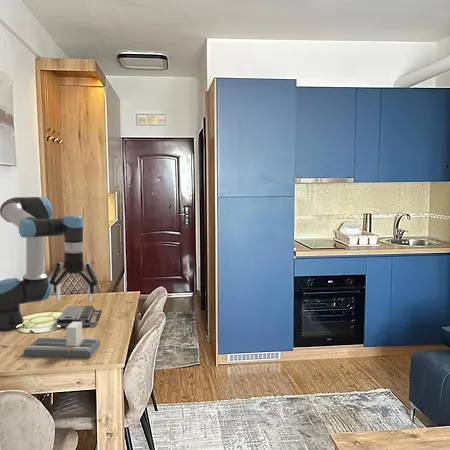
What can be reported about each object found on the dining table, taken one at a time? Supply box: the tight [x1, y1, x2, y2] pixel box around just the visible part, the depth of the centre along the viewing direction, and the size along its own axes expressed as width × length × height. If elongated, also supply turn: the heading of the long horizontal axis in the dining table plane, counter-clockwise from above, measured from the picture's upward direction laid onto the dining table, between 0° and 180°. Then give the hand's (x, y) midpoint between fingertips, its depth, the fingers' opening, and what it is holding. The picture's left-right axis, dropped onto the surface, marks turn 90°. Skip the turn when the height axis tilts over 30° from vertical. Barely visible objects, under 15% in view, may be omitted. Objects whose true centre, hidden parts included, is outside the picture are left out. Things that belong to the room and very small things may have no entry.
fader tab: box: [64, 322, 84, 347], centre depth 196 cm, size 6×8×9 cm
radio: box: [56, 305, 103, 329], centre depth 239 cm, size 24×5×20 cm
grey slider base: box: [23, 336, 101, 359], centre depth 197 cm, size 28×14×4 cm, turn 89°
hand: (74, 300), depth 195 cm, fingers open, 13 cm apart
